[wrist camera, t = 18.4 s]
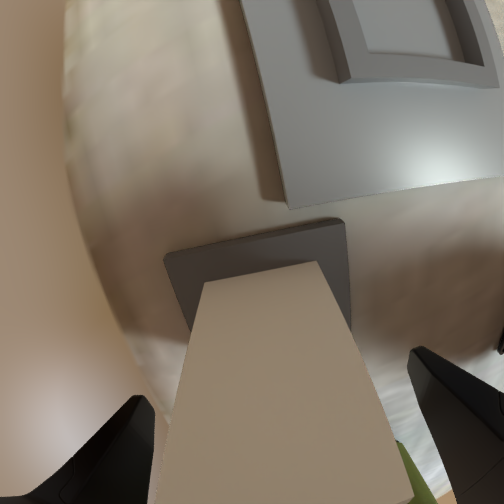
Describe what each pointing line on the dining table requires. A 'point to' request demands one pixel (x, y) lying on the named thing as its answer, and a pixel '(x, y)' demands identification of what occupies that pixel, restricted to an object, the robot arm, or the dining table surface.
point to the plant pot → (416, 480)
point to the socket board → (378, 94)
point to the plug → (277, 402)
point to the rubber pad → (263, 261)
